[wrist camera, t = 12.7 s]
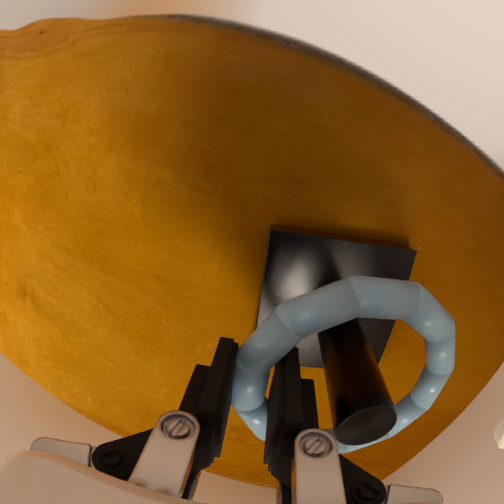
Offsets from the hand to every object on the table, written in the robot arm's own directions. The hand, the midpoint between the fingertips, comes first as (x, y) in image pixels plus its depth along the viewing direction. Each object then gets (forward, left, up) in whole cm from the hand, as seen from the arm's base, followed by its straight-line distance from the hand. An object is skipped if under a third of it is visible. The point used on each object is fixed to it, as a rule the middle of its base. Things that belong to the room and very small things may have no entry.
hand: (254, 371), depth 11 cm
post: (-4, 0, -7) cm, 9 cm away
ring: (-4, 0, 0) cm, 4 cm away
